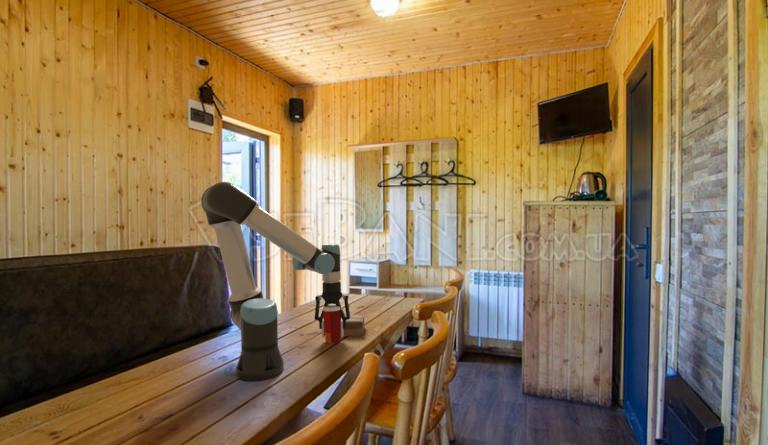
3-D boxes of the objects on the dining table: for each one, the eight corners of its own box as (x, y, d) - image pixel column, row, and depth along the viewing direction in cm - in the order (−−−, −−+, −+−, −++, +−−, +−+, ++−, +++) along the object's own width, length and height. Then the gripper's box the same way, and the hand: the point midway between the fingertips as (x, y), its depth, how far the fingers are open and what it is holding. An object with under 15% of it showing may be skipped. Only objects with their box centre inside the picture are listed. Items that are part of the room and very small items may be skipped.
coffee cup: (344, 338, 155) (343, 303, 155) (340, 345, 147) (339, 307, 147) (325, 338, 156) (324, 303, 156) (320, 344, 148) (319, 307, 148)
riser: (362, 335, 158) (362, 321, 158) (335, 336, 158) (334, 321, 158) (364, 327, 170) (364, 314, 170) (338, 327, 170) (338, 314, 170)
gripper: (356, 279, 155) (357, 333, 155) (309, 280, 155) (310, 333, 155) (355, 282, 147) (356, 338, 148) (305, 283, 148) (306, 339, 148)
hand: (332, 336), depth 151 cm, fingers closed on coffee cup, 7 cm apart
